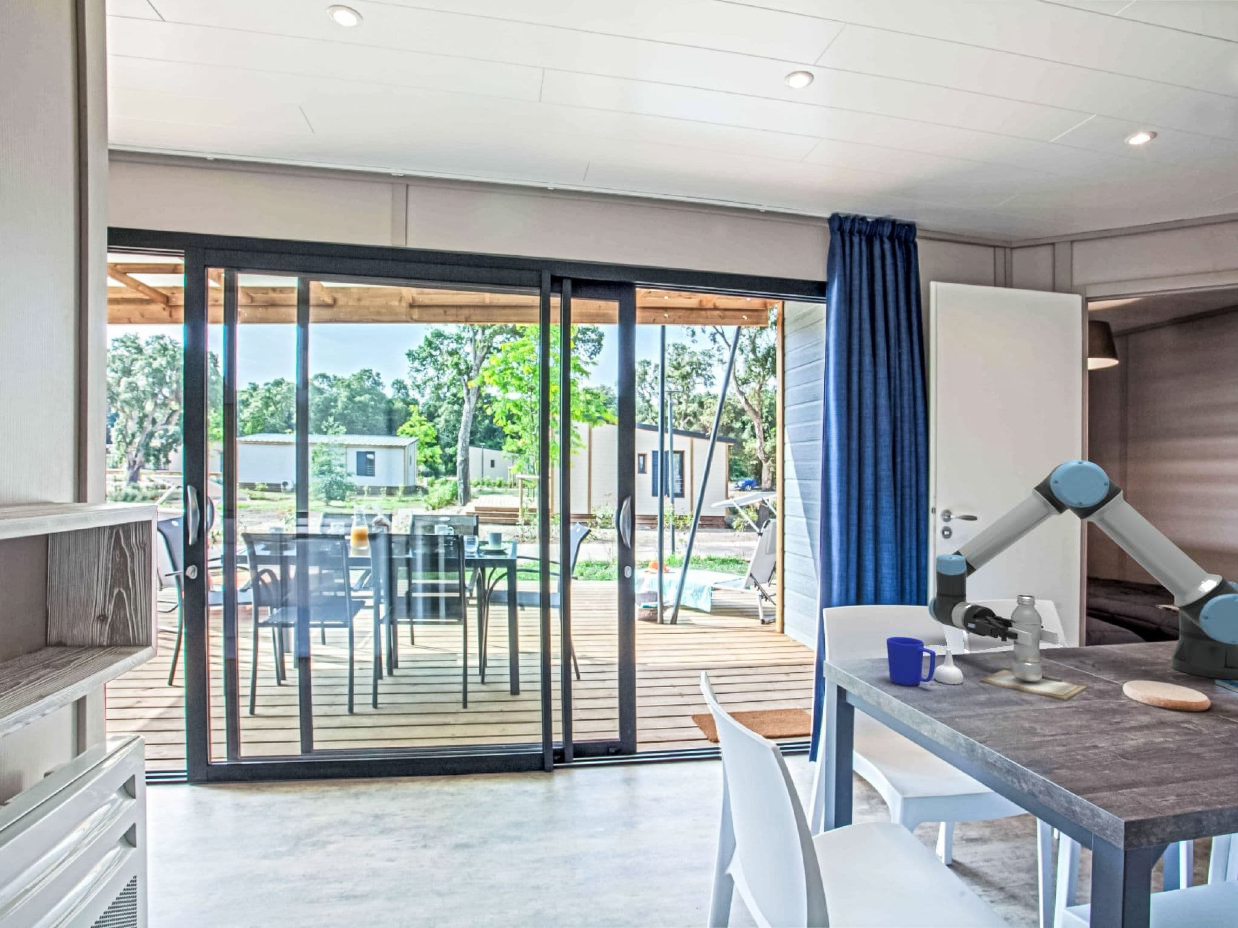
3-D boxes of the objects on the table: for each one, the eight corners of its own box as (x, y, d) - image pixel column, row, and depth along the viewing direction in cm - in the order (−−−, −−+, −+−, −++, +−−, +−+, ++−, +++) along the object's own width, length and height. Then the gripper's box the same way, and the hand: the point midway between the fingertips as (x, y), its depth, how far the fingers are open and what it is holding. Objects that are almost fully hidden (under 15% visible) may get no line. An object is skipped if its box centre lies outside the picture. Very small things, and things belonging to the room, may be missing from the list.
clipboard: (1086, 688, 157) (1086, 682, 157) (1065, 700, 148) (1065, 694, 148) (1003, 671, 171) (1003, 666, 171) (979, 681, 162) (979, 676, 162)
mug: (922, 694, 152) (921, 649, 153) (879, 680, 163) (879, 638, 163) (946, 689, 156) (946, 645, 157) (903, 676, 167) (902, 635, 167)
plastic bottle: (1034, 677, 163) (1033, 593, 164) (1048, 685, 157) (1047, 598, 157) (1005, 676, 164) (1004, 593, 165) (1019, 684, 157) (1018, 598, 158)
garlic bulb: (929, 681, 164) (926, 649, 164) (945, 675, 167) (943, 643, 167) (953, 688, 159) (950, 655, 158) (969, 682, 162) (967, 649, 162)
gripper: (1007, 632, 180) (1079, 653, 157) (942, 634, 177) (1006, 657, 154) (1007, 603, 180) (1079, 621, 157) (941, 605, 177) (1005, 623, 154)
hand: (1043, 638), depth 156 cm, fingers closed on plastic bottle, 6 cm apart
